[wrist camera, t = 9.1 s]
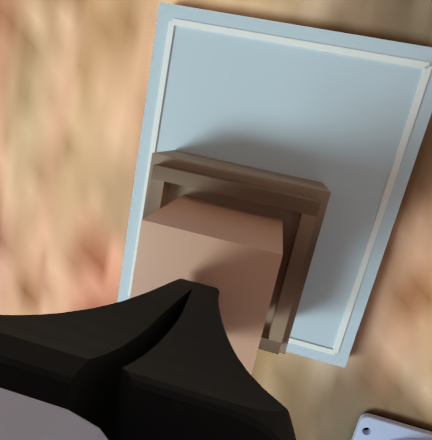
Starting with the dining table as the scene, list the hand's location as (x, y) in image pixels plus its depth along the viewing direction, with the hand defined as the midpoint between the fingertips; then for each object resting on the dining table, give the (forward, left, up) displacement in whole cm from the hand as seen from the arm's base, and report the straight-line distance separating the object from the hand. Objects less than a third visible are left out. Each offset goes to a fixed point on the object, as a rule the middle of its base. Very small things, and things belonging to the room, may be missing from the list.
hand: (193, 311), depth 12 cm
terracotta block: (0, 0, -5) cm, 5 cm away
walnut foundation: (0, 0, -9) cm, 9 cm away
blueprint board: (+3, -1, -10) cm, 10 cm away
